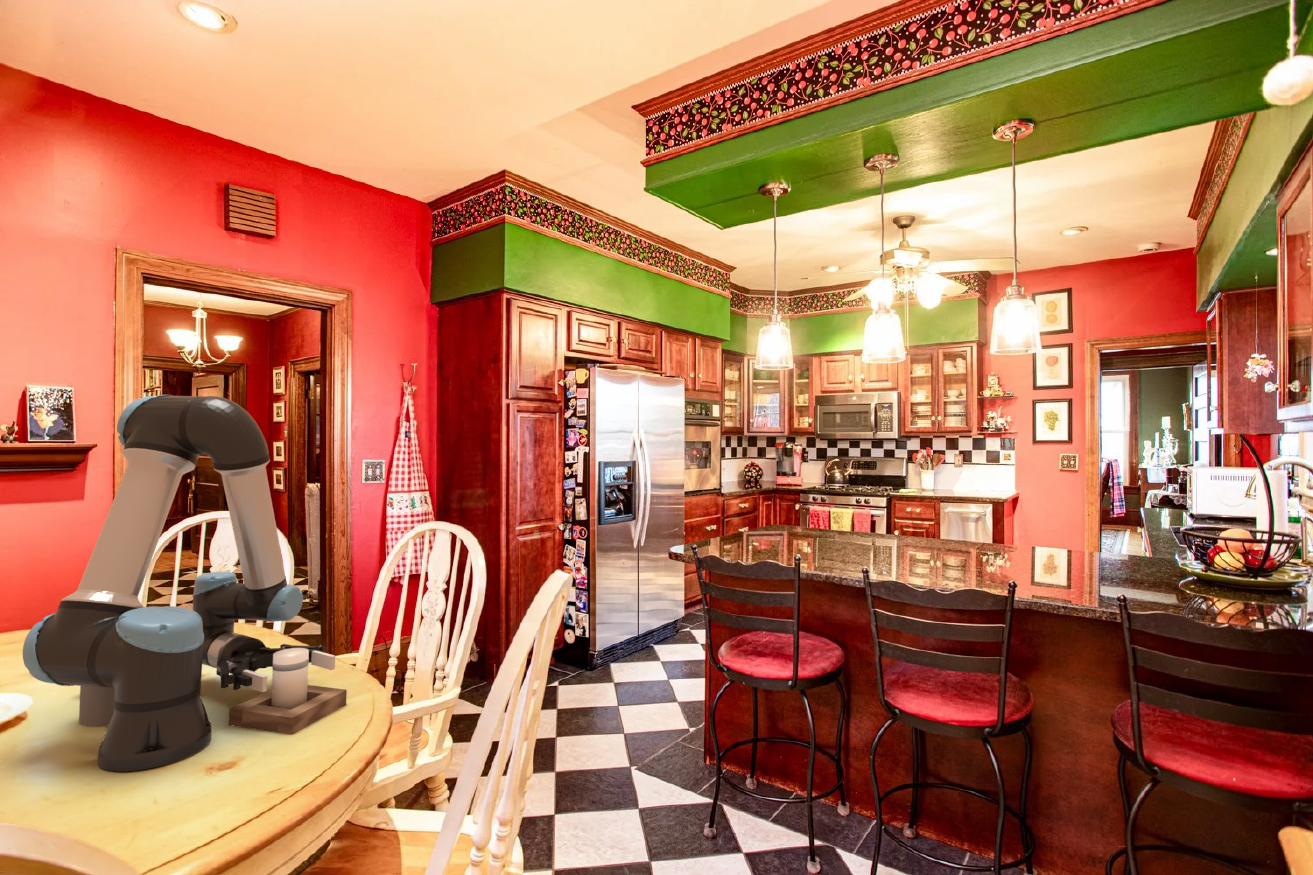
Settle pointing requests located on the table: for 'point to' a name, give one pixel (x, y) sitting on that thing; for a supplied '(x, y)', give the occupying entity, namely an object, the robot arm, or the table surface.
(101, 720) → the coffee mug
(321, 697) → the cradle
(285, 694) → the white cylinder
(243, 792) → the table surface
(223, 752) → the table surface
